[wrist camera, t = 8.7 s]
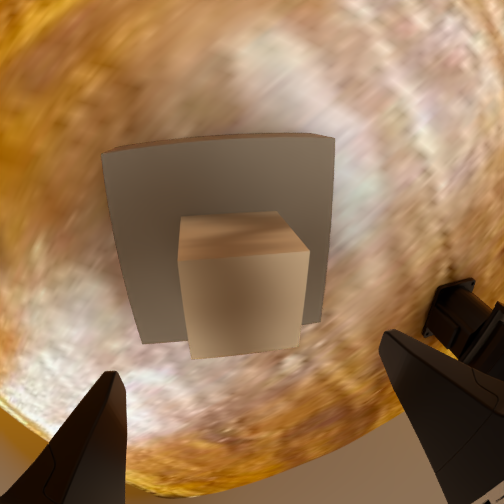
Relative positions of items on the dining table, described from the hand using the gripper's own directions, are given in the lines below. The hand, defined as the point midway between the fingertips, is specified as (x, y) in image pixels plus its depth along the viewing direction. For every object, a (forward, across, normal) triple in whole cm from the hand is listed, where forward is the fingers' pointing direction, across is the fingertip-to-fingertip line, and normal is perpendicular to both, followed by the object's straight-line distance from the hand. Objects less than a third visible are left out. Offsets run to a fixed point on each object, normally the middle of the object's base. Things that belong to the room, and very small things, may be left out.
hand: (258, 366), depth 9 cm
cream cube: (+8, 0, 0) cm, 8 cm away
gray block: (+12, 0, 0) cm, 12 cm away
